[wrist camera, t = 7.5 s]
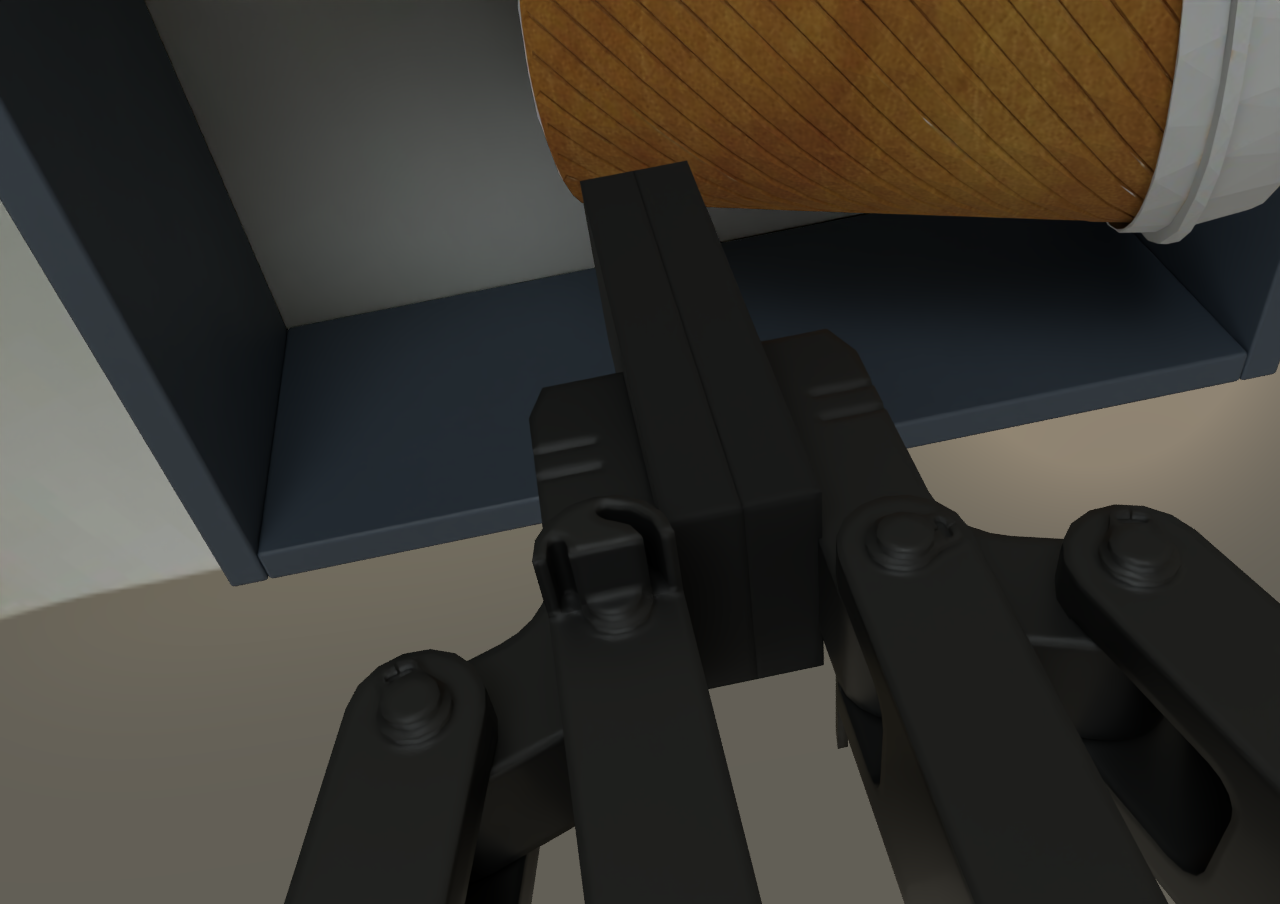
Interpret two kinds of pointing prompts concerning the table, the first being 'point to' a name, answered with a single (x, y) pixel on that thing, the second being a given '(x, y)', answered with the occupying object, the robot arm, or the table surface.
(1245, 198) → the disposable coffee cup
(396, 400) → the bin
